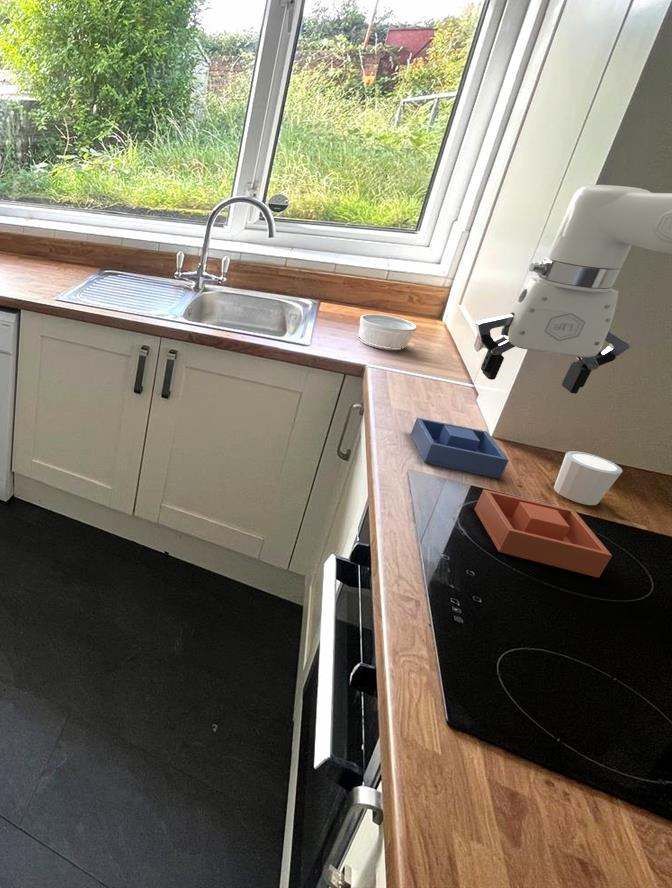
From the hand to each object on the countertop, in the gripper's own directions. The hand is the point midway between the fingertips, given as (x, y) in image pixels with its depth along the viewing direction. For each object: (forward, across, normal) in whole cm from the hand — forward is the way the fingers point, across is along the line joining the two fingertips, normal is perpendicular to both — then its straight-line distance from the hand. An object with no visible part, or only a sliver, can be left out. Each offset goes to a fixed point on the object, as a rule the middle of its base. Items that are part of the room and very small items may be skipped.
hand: (527, 382), depth 89 cm
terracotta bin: (+23, +6, -7) cm, 25 cm away
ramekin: (+23, +1, +84) cm, 87 cm away
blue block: (+22, +2, +18) cm, 29 cm away
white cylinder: (+23, +18, +13) cm, 32 cm away
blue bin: (+23, +2, +18) cm, 29 cm away
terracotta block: (+22, +6, -7) cm, 24 cm away
